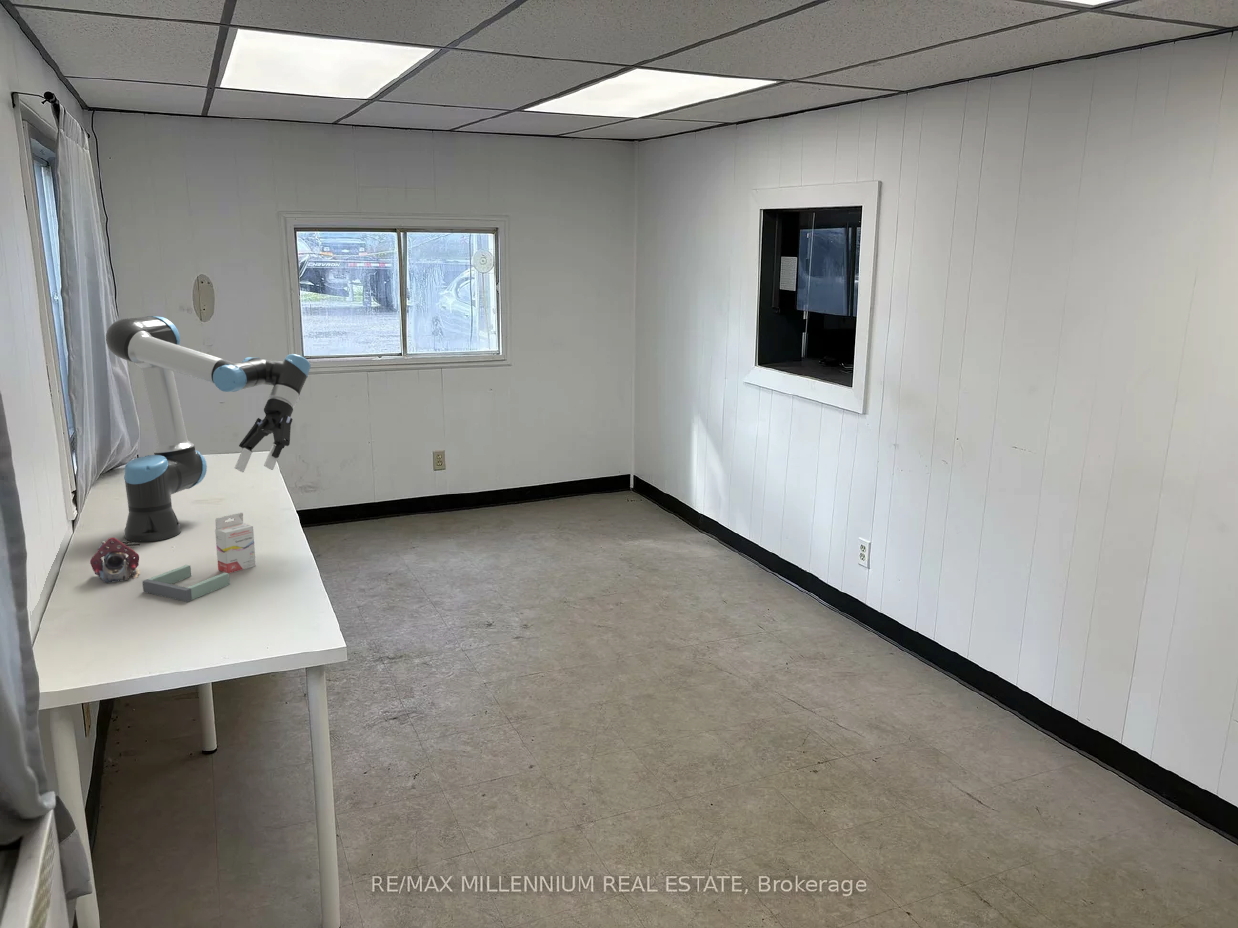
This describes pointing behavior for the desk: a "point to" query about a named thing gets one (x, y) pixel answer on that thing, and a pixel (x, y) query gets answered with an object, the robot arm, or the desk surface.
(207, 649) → the desk surface
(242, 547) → the ink cartridge box
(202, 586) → the cartridge dock
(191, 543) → the desk surface
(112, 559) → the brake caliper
